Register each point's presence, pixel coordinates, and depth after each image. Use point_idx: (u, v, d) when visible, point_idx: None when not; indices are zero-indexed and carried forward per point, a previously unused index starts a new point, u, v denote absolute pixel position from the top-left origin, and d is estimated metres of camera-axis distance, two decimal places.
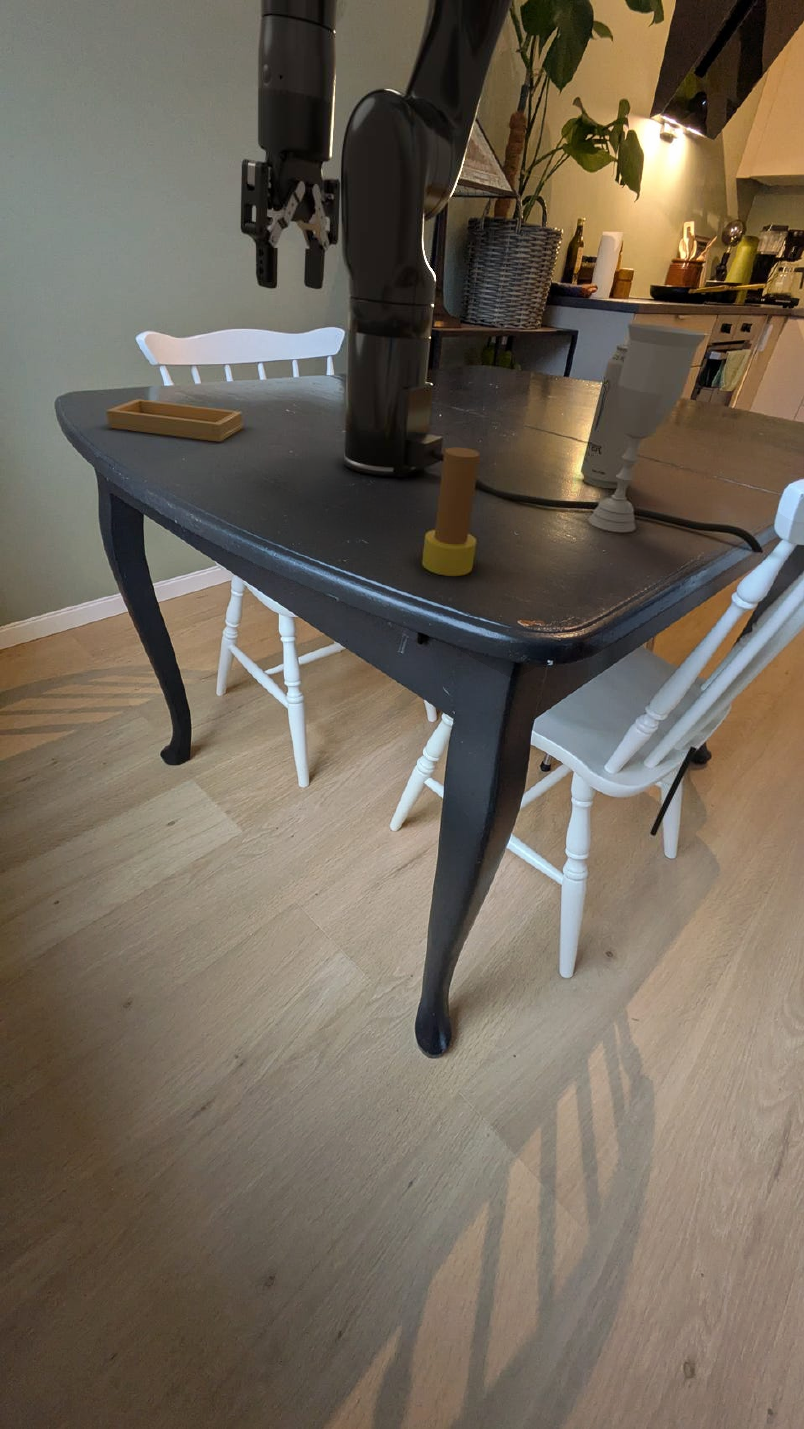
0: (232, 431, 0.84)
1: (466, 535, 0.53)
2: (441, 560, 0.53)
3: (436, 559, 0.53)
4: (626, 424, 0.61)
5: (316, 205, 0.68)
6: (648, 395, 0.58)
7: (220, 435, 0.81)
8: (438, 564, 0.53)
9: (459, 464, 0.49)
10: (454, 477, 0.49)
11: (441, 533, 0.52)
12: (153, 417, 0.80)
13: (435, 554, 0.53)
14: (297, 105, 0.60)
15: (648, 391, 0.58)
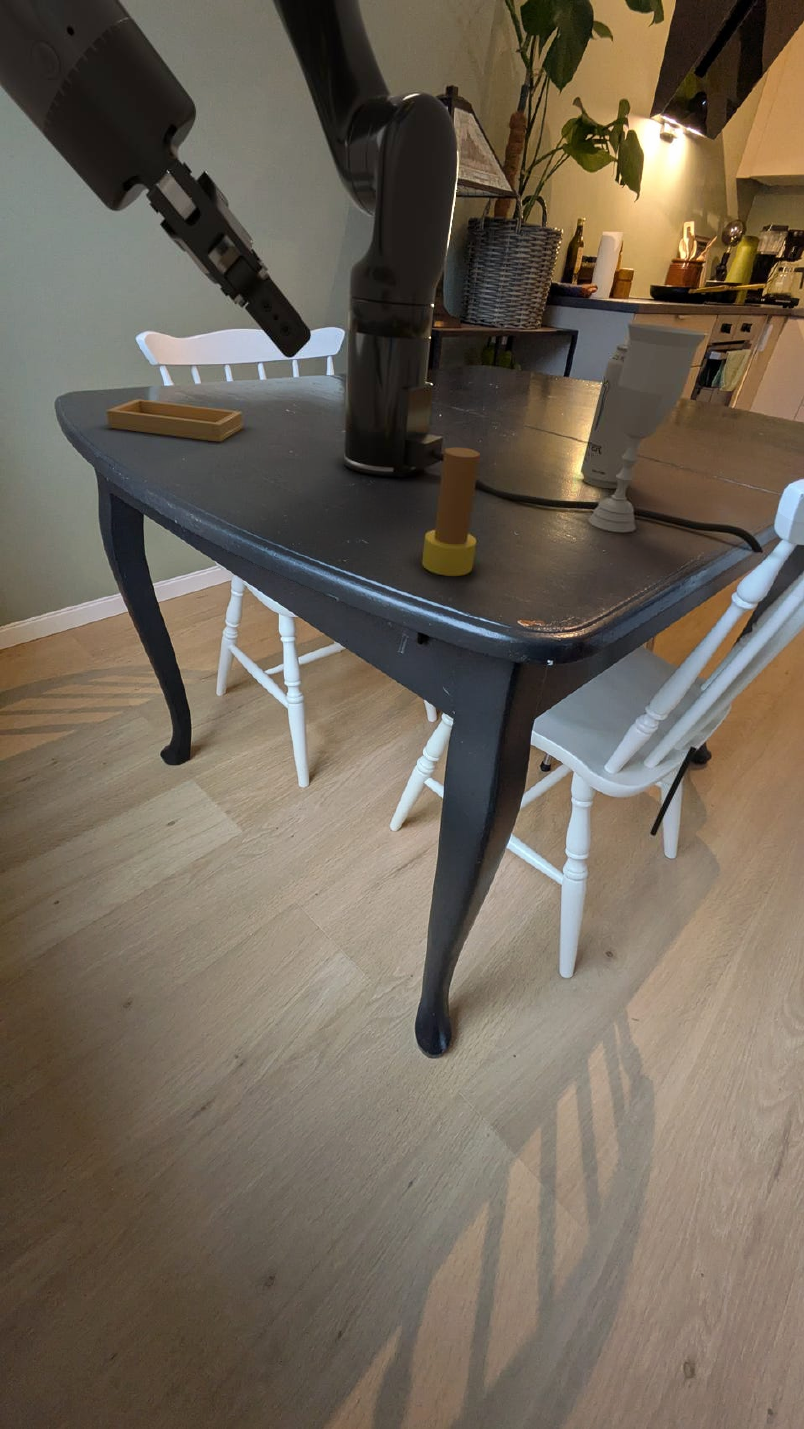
0: (232, 431, 0.84)
1: (466, 535, 0.53)
2: (441, 560, 0.53)
3: (436, 559, 0.53)
4: (626, 424, 0.61)
5: (227, 207, 0.40)
6: (648, 395, 0.58)
7: (220, 435, 0.81)
8: (438, 564, 0.53)
9: (459, 464, 0.49)
10: (454, 477, 0.49)
11: (441, 533, 0.52)
12: (153, 417, 0.80)
13: (435, 554, 0.53)
14: (122, 48, 0.32)
15: (648, 391, 0.58)
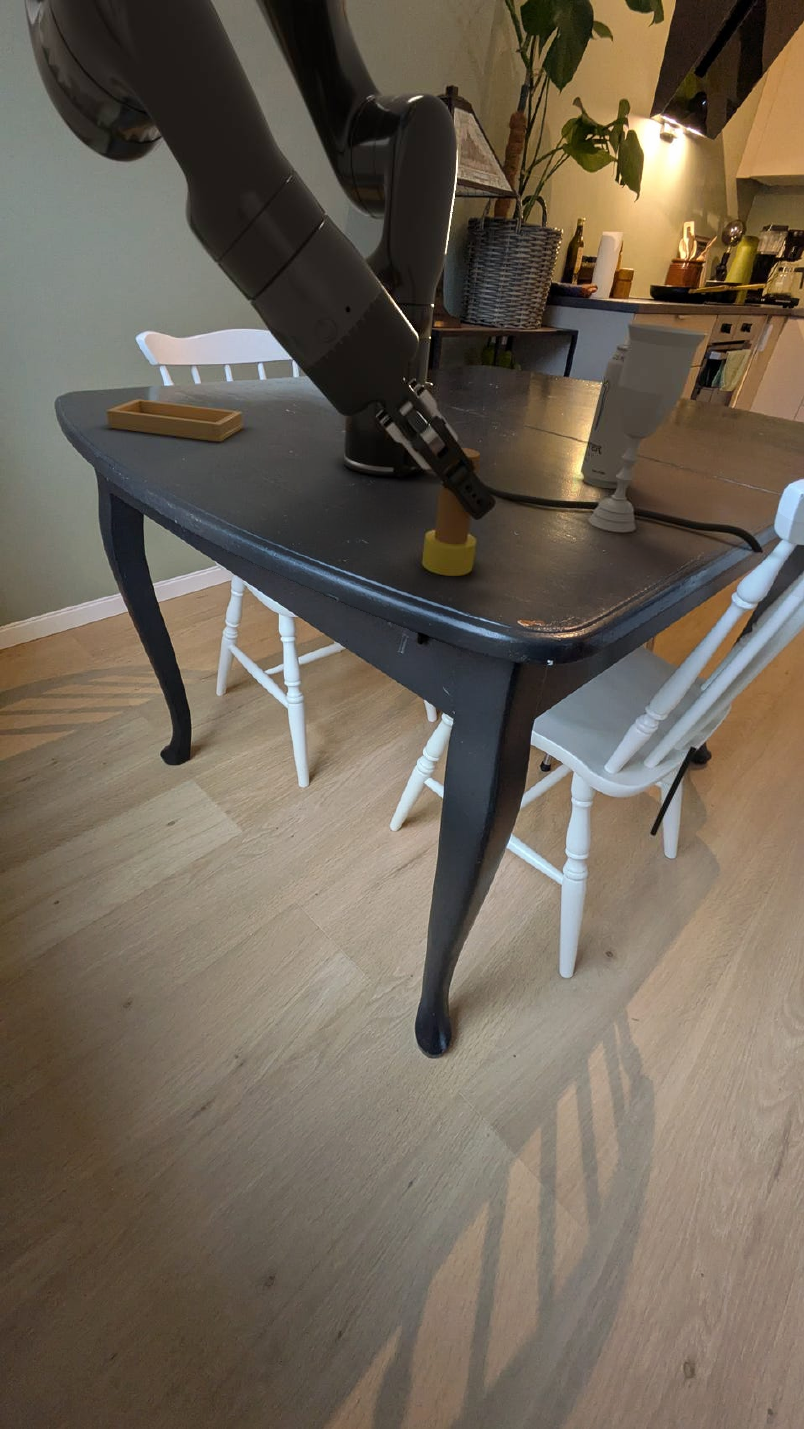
0: (232, 431, 0.84)
1: (466, 535, 0.53)
2: (441, 560, 0.53)
3: (436, 559, 0.53)
4: (626, 424, 0.61)
5: None
6: (648, 395, 0.58)
7: (220, 435, 0.81)
8: (438, 564, 0.53)
9: None
10: None
11: (441, 533, 0.52)
12: (153, 417, 0.80)
13: (435, 554, 0.53)
14: (380, 314, 0.40)
15: (648, 391, 0.58)
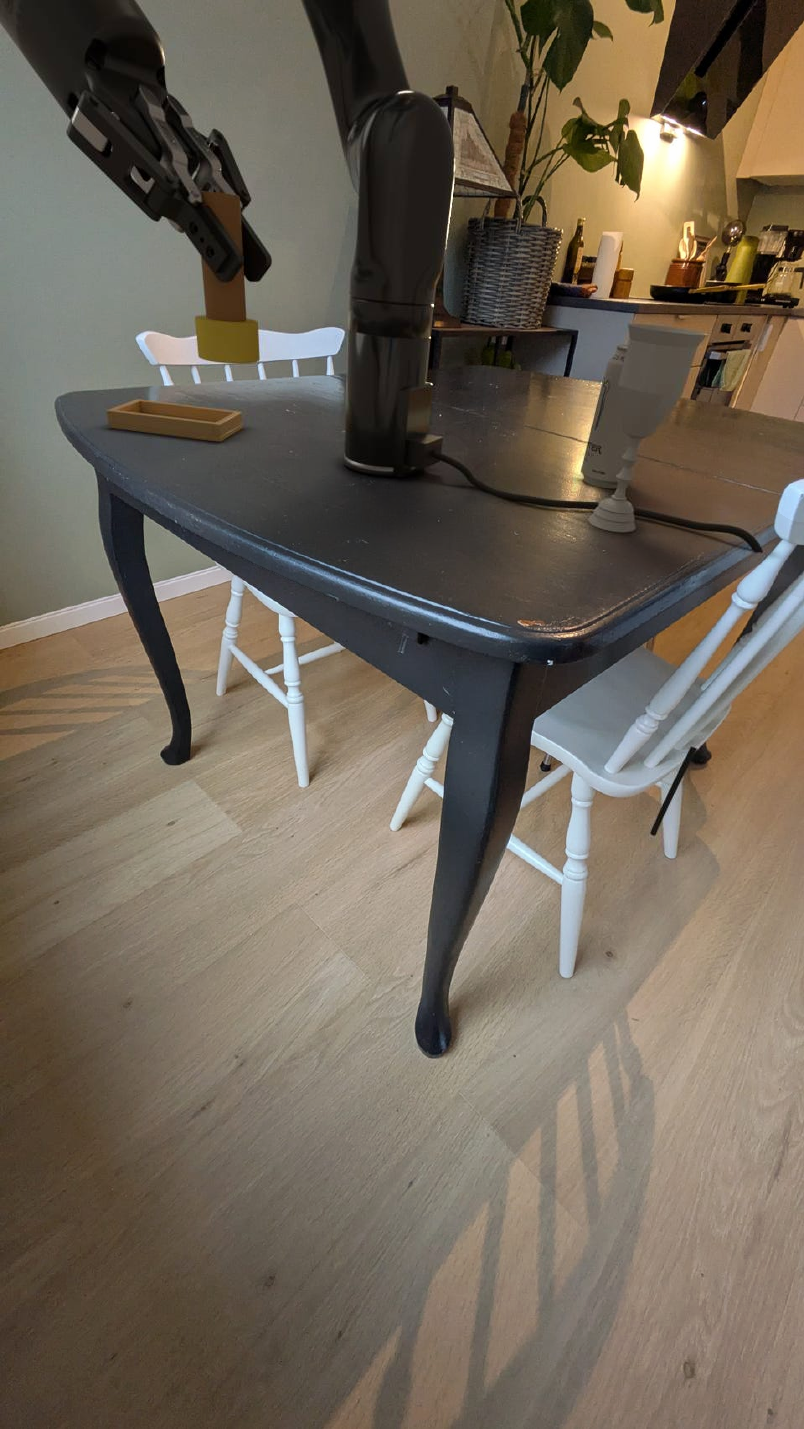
0: (232, 431, 0.84)
1: (230, 311, 0.44)
2: (198, 338, 0.45)
3: (197, 337, 0.45)
4: (626, 424, 0.61)
5: (185, 126, 0.41)
6: (648, 395, 0.58)
7: (220, 435, 0.81)
8: (198, 344, 0.45)
9: None
10: None
11: (205, 305, 0.45)
12: (153, 417, 0.80)
13: (196, 331, 0.45)
14: None
15: (648, 391, 0.58)
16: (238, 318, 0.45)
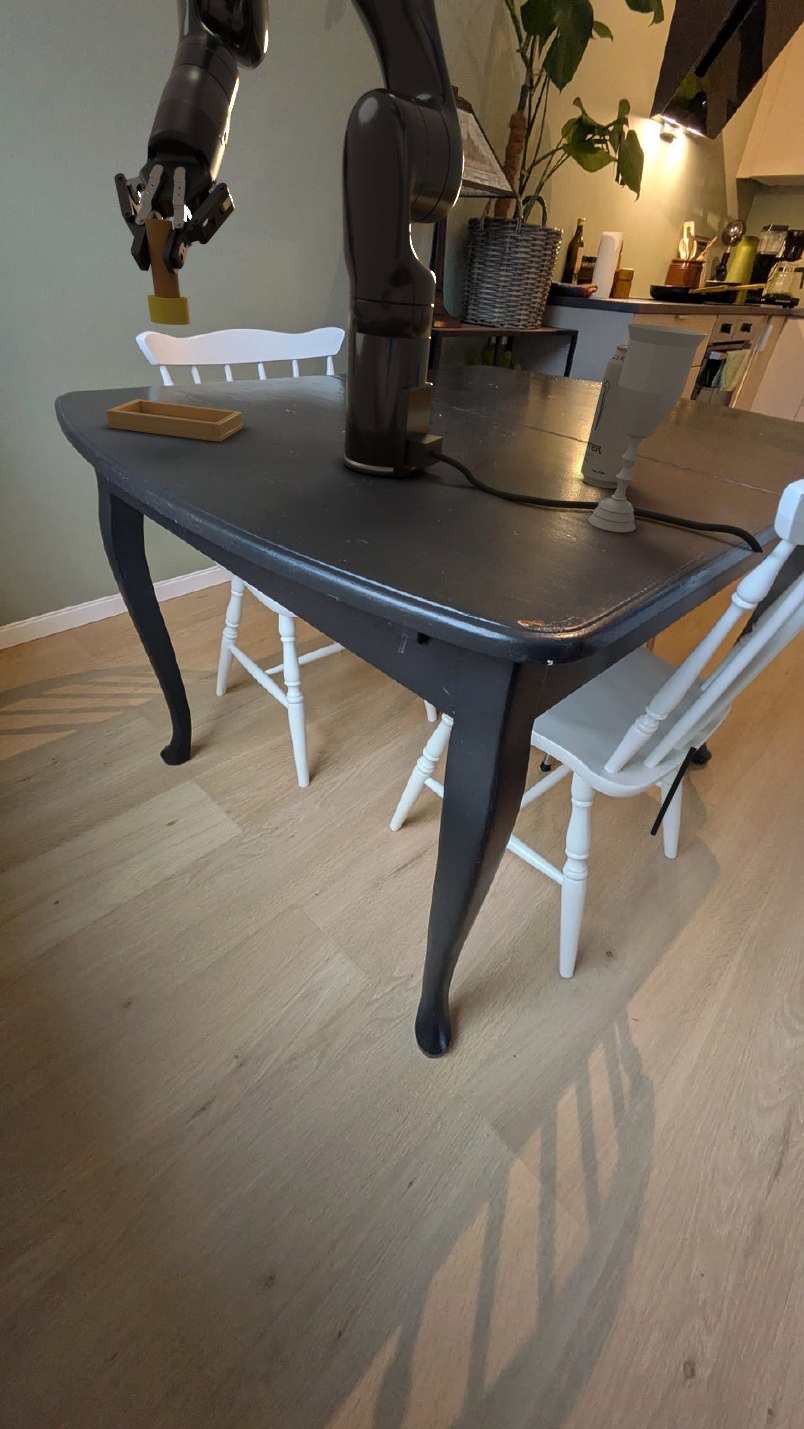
0: (232, 431, 0.84)
1: (155, 290, 0.71)
2: None
3: None
4: (626, 424, 0.61)
5: (176, 183, 0.68)
6: (648, 395, 0.58)
7: (220, 435, 0.81)
8: None
9: None
10: None
11: None
12: (153, 417, 0.80)
13: None
14: (155, 117, 0.69)
15: (648, 391, 0.58)
16: (158, 295, 0.71)
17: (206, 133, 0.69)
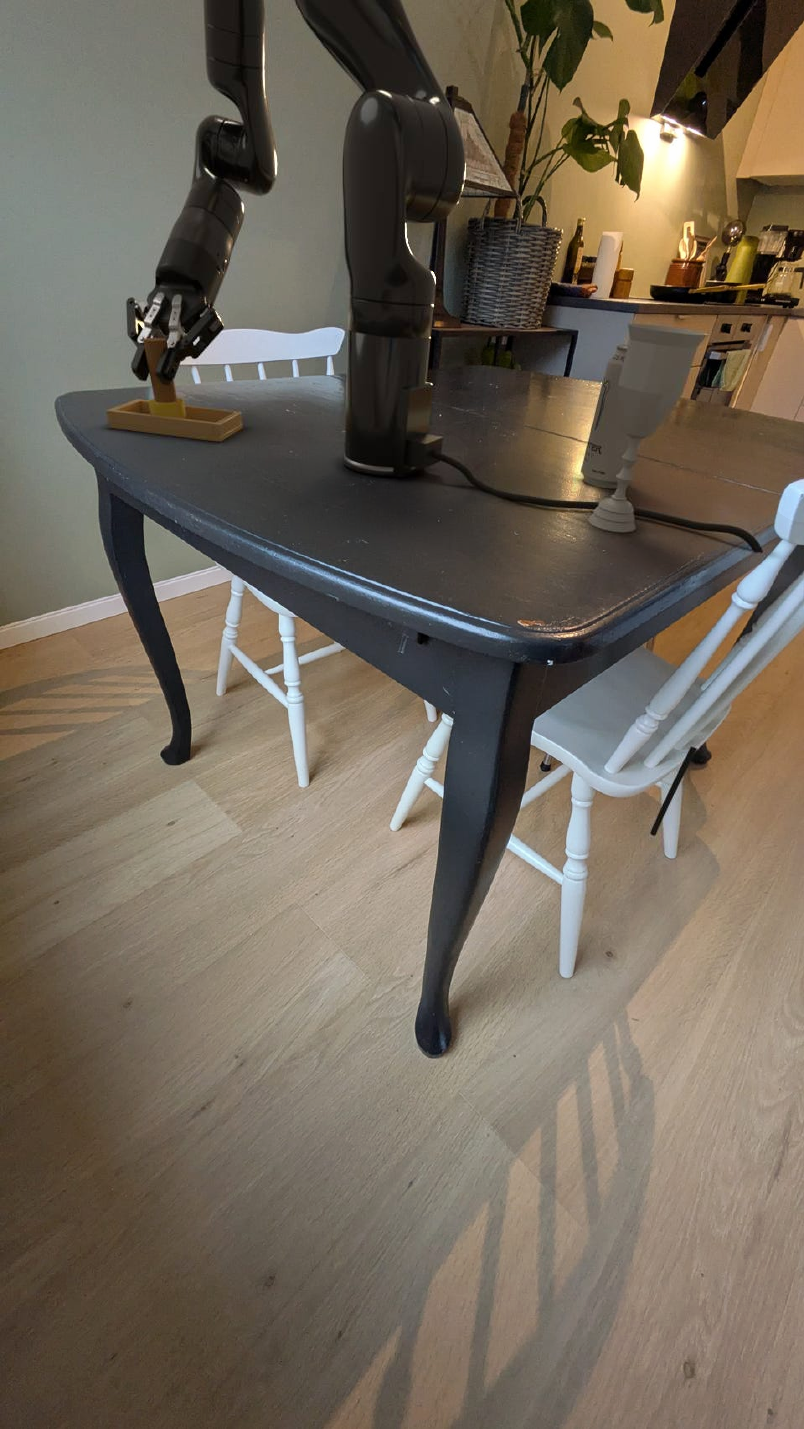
0: (232, 431, 0.84)
1: (154, 396, 0.82)
2: None
3: None
4: (626, 424, 0.61)
5: (173, 308, 0.79)
6: (648, 395, 0.58)
7: (220, 435, 0.81)
8: None
9: None
10: None
11: None
12: (153, 417, 0.80)
13: None
14: None
15: (648, 391, 0.58)
16: (156, 400, 0.82)
17: (203, 265, 0.79)
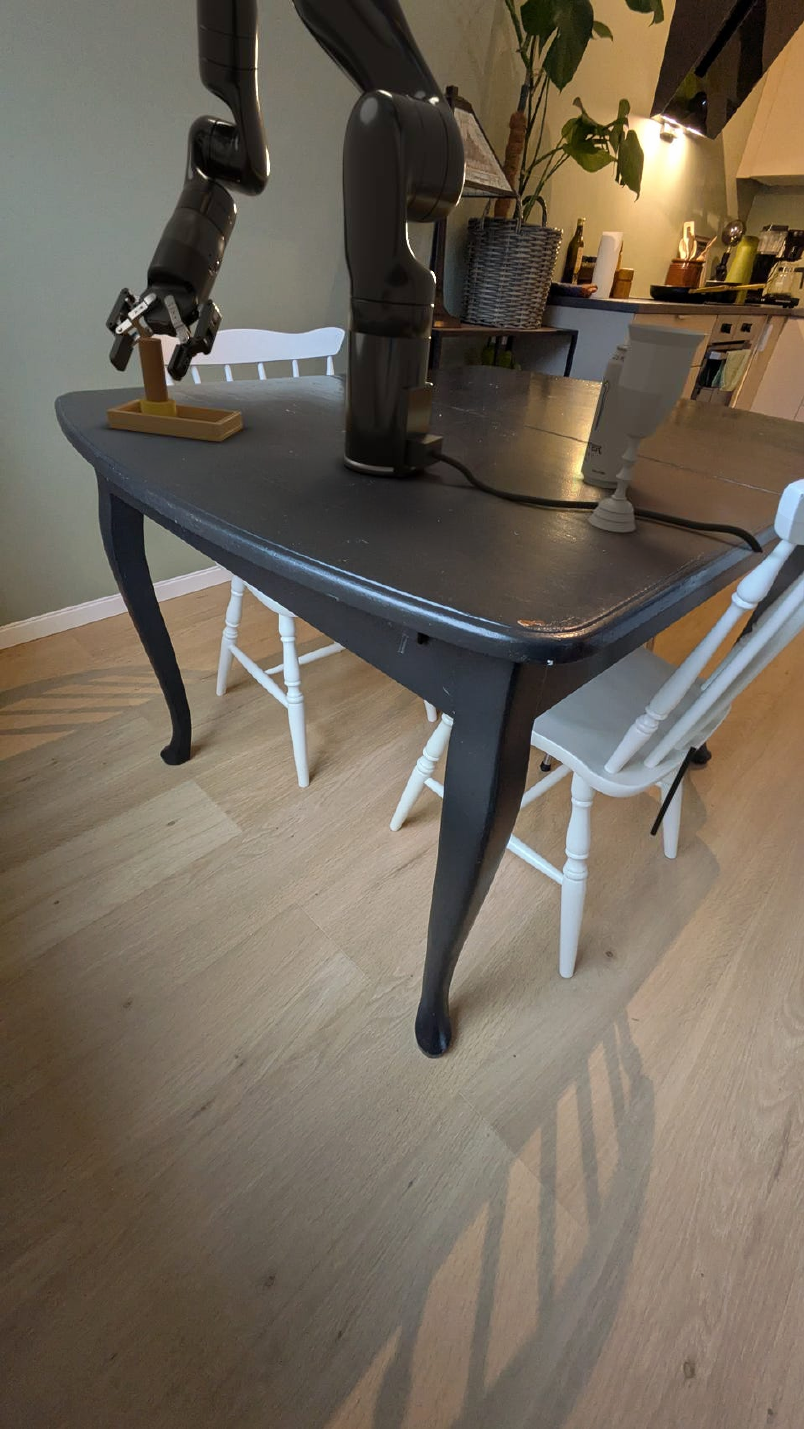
0: (232, 431, 0.84)
1: None
2: None
3: None
4: (626, 424, 0.61)
5: (169, 309, 0.79)
6: (648, 395, 0.58)
7: (220, 435, 0.81)
8: None
9: None
10: None
11: None
12: (153, 417, 0.80)
13: None
14: None
15: (648, 391, 0.58)
16: (147, 399, 0.82)
17: (195, 266, 0.79)
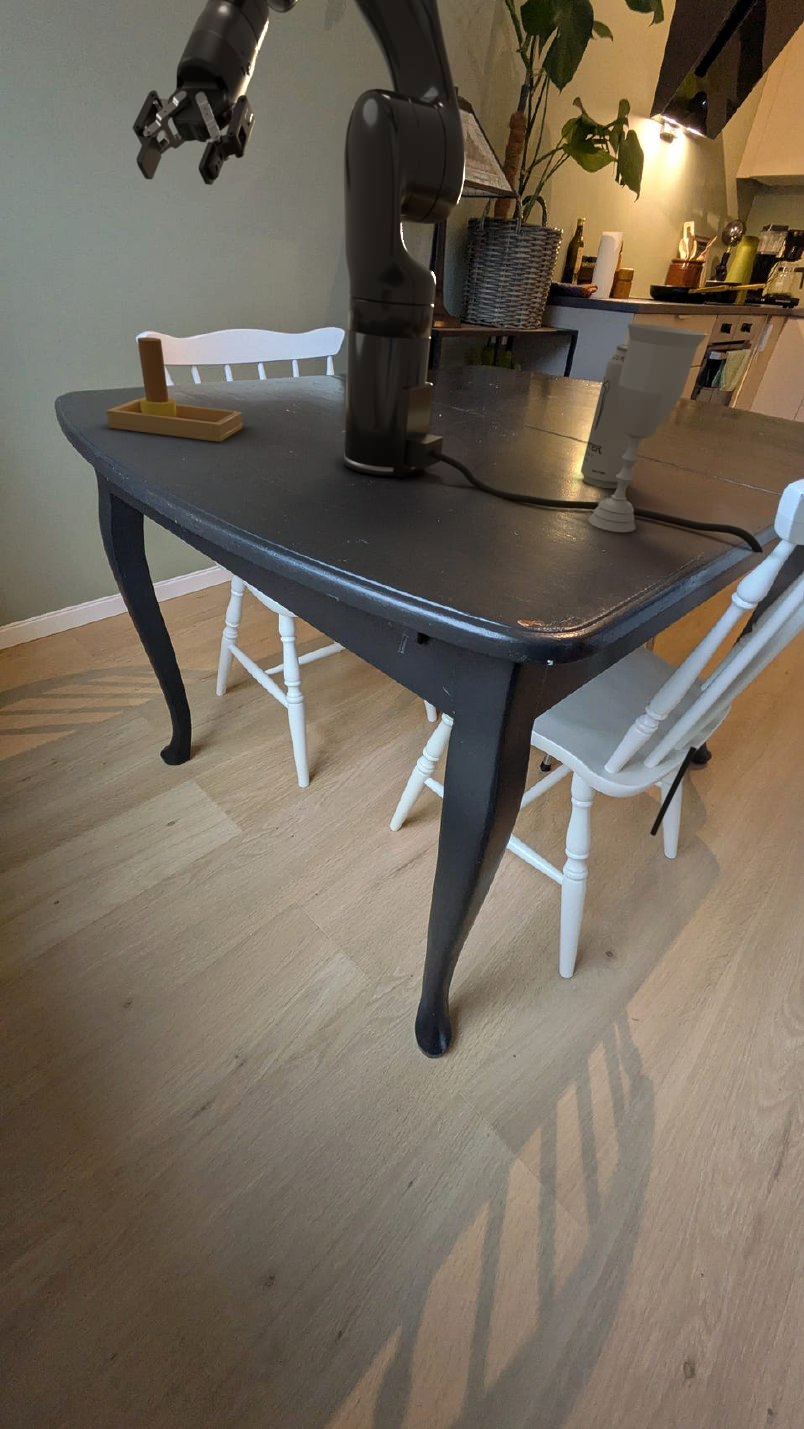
0: (232, 431, 0.84)
1: None
2: None
3: None
4: (626, 424, 0.61)
5: (201, 106, 0.75)
6: (648, 395, 0.58)
7: (220, 435, 0.81)
8: None
9: None
10: None
11: None
12: (153, 417, 0.80)
13: None
14: None
15: (648, 391, 0.58)
16: (147, 399, 0.82)
17: (227, 61, 0.75)
